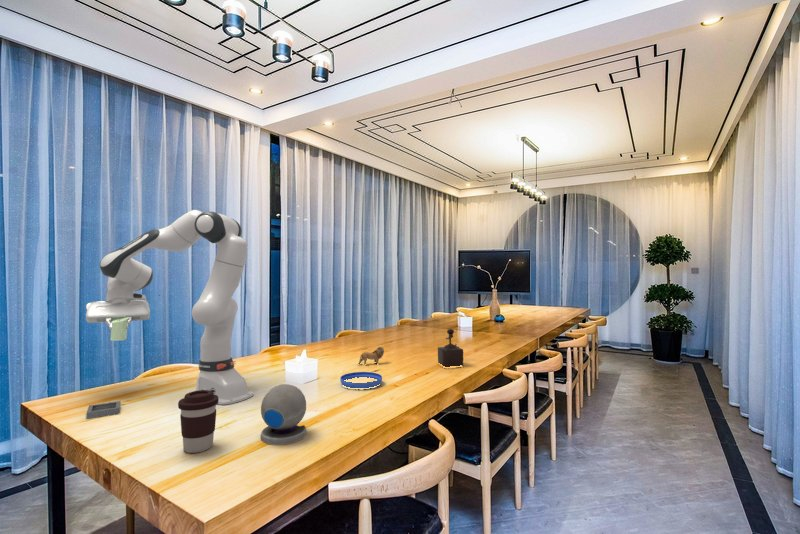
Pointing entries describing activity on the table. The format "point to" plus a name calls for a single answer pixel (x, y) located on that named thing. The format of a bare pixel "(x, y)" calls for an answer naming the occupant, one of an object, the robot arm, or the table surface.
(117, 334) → the candle
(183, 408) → the coffee cup
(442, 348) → the black block with stem
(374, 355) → the lion figurine
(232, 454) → the table surface
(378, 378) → the blue ring
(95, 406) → the holder collar
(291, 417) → the webcam
